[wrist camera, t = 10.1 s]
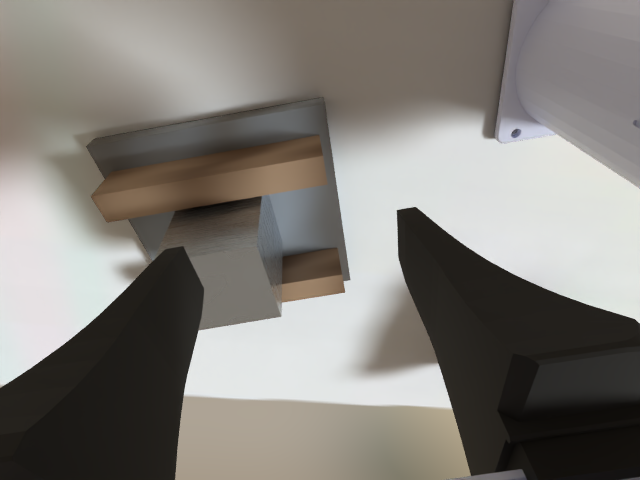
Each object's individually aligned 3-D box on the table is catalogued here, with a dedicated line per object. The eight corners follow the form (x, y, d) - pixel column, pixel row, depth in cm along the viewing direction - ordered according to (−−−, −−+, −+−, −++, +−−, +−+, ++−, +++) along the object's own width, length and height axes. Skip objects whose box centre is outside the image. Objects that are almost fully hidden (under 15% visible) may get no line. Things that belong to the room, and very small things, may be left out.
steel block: (263, 177, 20) (256, 245, 15) (282, 241, 23) (281, 316, 18) (183, 192, 20) (151, 264, 15) (211, 253, 23) (192, 331, 18)
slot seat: (323, 97, 19) (329, 121, 16) (348, 270, 26) (355, 307, 23) (94, 138, 19) (61, 169, 16) (182, 297, 26) (170, 336, 24)
